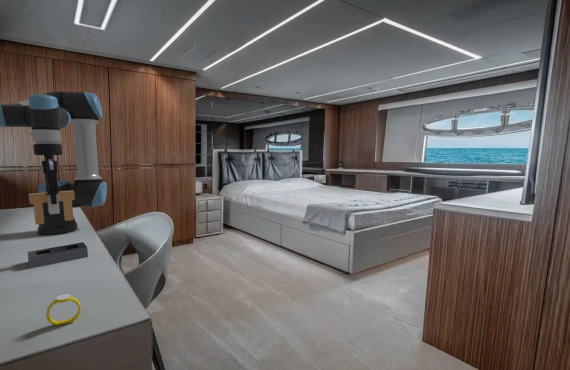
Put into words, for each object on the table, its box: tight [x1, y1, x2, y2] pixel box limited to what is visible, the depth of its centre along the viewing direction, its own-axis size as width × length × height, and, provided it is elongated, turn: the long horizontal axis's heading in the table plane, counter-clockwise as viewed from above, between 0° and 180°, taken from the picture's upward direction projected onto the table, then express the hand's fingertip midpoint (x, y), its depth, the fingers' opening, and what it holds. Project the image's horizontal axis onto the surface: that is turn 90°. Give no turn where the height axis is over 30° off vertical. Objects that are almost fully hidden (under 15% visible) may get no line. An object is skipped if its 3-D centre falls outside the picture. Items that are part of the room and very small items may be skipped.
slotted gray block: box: [27, 241, 89, 269], centre depth 106 cm, size 16×8×4 cm, turn 132°
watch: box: [45, 293, 82, 326], centre depth 66 cm, size 6×3×6 cm, turn 122°
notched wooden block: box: [28, 190, 75, 226], centre depth 103 cm, size 12×3×10 cm, turn 132°
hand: (54, 212), depth 104 cm, fingers closed on notched wooden block, 3 cm apart
